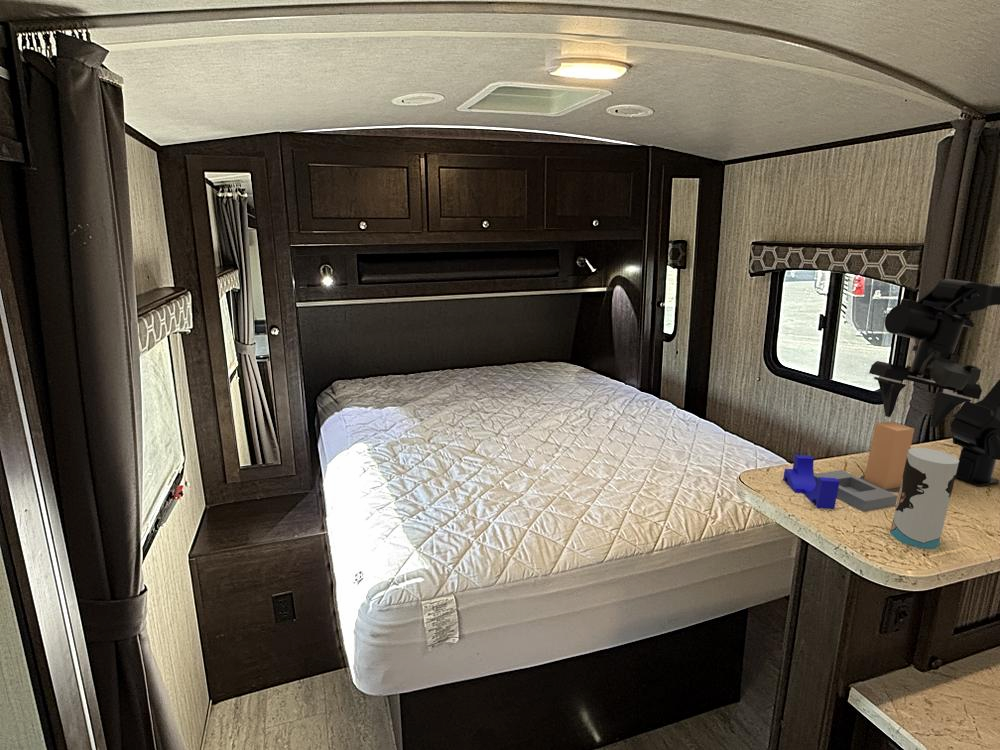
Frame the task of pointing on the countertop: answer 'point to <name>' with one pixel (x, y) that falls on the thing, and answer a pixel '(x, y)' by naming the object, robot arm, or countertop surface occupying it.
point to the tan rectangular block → (888, 454)
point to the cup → (924, 497)
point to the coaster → (882, 488)
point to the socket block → (859, 491)
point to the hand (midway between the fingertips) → (910, 422)
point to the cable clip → (811, 483)
